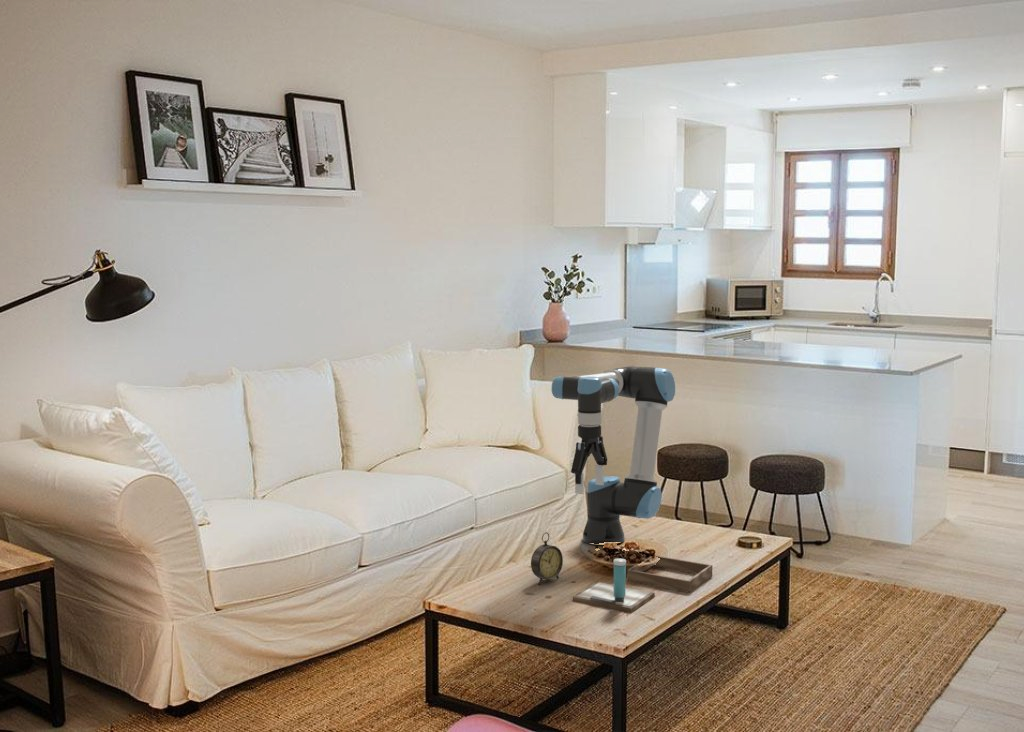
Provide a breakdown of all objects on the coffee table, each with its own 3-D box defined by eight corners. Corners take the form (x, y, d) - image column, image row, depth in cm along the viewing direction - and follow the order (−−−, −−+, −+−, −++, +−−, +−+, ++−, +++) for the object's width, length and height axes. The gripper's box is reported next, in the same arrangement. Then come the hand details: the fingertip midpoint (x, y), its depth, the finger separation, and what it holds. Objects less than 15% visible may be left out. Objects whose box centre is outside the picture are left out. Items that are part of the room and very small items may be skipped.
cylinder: (616, 597, 316) (617, 557, 314) (627, 599, 314) (628, 559, 312) (610, 601, 313) (611, 561, 311) (622, 603, 311) (622, 563, 309)
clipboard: (597, 585, 331) (597, 579, 331) (654, 596, 320) (654, 590, 320) (572, 600, 318) (572, 594, 318) (631, 612, 307) (631, 606, 307)
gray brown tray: (651, 564, 350) (651, 554, 350) (712, 575, 339) (712, 565, 338) (627, 580, 335) (627, 570, 335) (689, 592, 323) (689, 581, 323)
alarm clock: (539, 587, 330) (539, 537, 328) (528, 583, 334) (527, 534, 332) (564, 579, 337) (563, 530, 335) (552, 575, 341) (551, 527, 339)
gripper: (597, 417, 348) (597, 479, 350) (560, 430, 327) (560, 495, 329) (617, 419, 343) (617, 482, 346) (580, 432, 323) (581, 498, 325)
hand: (589, 489), depth 338 cm, fingers open, 13 cm apart
